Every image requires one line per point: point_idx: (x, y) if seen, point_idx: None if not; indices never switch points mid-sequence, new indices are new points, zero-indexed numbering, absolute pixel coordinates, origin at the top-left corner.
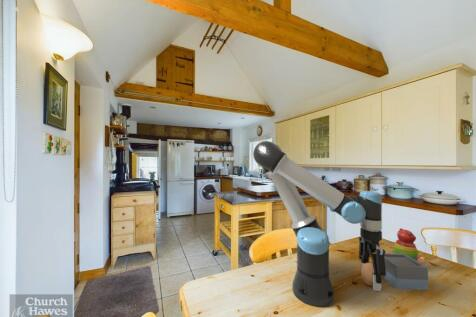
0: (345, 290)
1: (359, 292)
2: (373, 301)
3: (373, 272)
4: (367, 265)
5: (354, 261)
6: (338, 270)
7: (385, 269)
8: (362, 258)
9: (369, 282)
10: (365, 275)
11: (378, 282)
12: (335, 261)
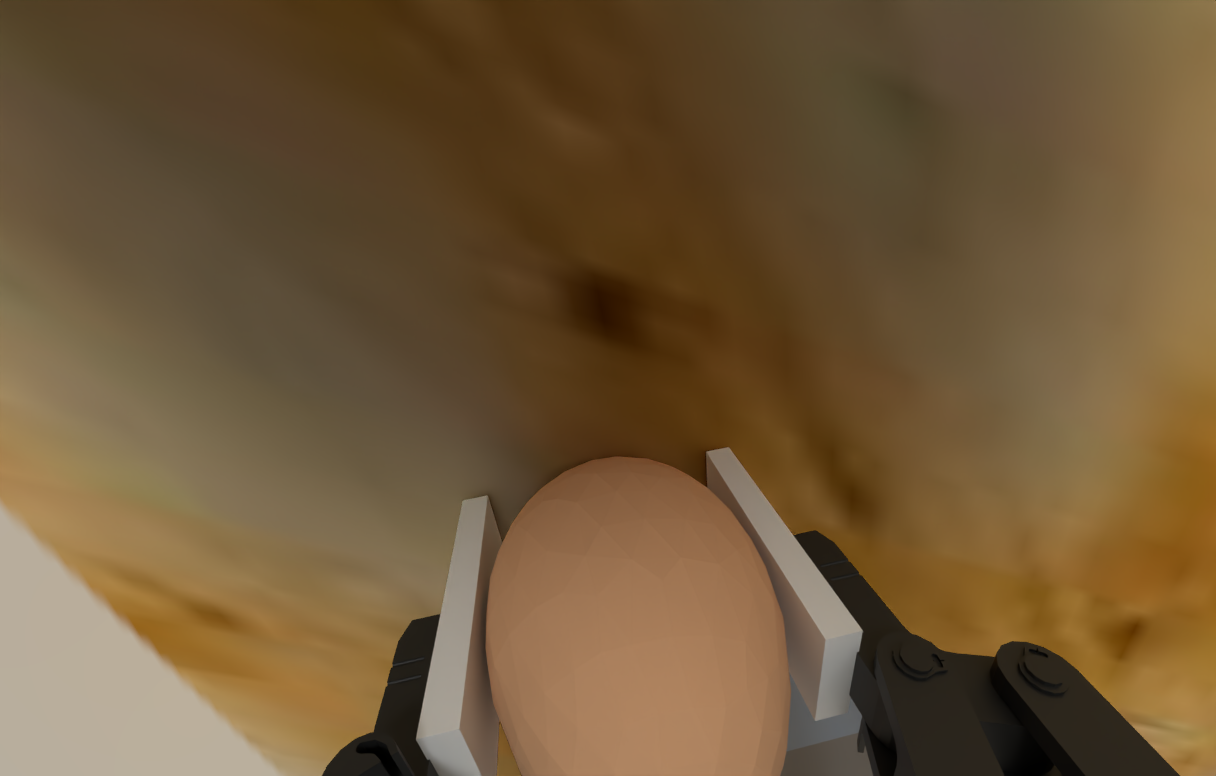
0: (296, 50)
1: (346, 301)
2: (185, 421)
3: (506, 729)
4: (635, 772)
5: (1103, 468)
6: (949, 162)
7: (790, 756)
8: (950, 766)
9: (518, 515)
10: (543, 542)
11: (399, 651)
12: (1198, 207)
